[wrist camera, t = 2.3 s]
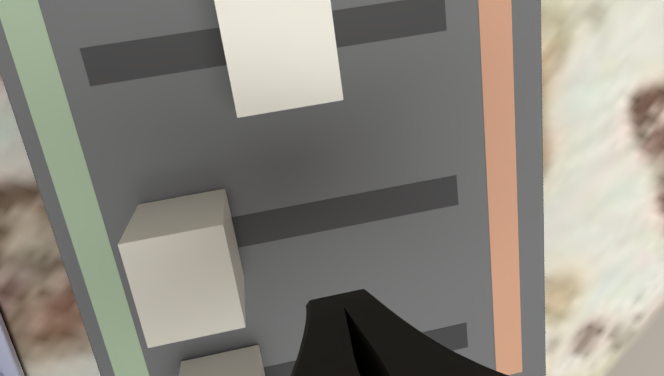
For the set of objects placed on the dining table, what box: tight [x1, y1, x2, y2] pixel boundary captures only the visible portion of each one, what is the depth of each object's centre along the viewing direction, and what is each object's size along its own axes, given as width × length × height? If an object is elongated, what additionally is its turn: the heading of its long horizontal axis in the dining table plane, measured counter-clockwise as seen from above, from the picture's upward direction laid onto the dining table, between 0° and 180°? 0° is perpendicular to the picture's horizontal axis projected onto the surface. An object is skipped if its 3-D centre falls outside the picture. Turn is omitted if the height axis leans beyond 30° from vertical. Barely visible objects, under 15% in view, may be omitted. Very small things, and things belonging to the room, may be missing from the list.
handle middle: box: [118, 189, 246, 348], centre depth 18 cm, size 3×4×4 cm
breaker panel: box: [0, 0, 546, 376], centre depth 21 cm, size 18×20×2 cm
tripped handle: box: [214, 0, 343, 118], centre depth 16 cm, size 3×4×4 cm
